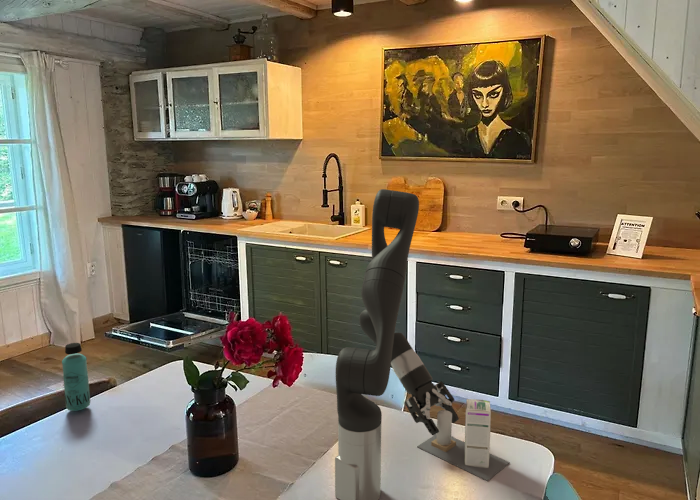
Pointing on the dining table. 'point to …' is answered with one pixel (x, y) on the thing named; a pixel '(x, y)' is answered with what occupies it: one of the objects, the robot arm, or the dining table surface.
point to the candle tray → (457, 449)
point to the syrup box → (477, 433)
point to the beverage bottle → (75, 378)
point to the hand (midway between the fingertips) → (446, 427)
